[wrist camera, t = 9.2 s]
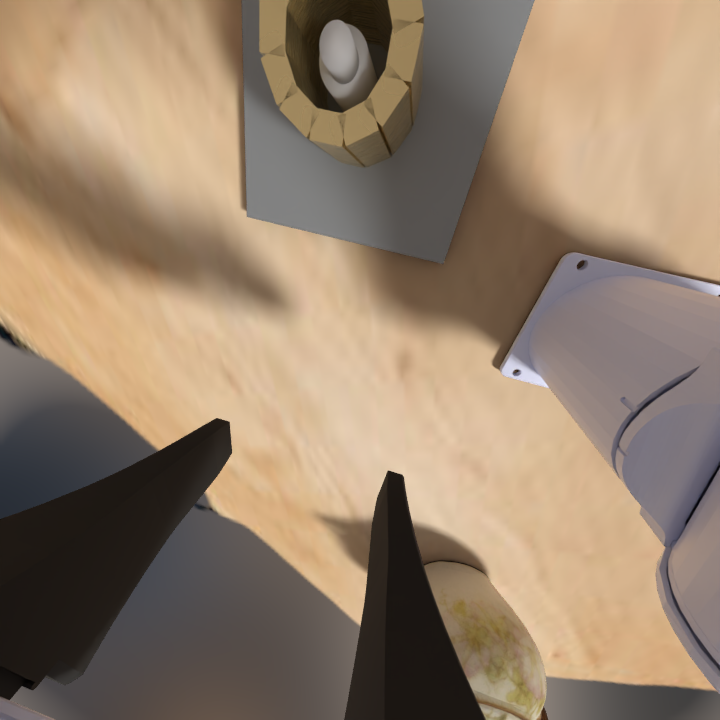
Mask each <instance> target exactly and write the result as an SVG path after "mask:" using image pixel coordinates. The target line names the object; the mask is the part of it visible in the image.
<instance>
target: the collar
mask: <svg viewBox="0 0 720 720" xmlns="http://www.w3.org/2000/svg"><path fill="white" fill-rule="evenodd" d="M332 20H341V21H343V22H344V23H345V24H350V25H353V26H355V27H356V28H357V29H358V30H359V31H360V32H361V33H362V35H363V36H364V38H365V40H366V43H370V44H375V45H381V46H382V47H383V48H384V49H385V51H386V52H387V53H388V57H387V62H386V68H385V71H384V72H383V74H382V75H381V77H380V79H379V80H378V82H377V84H376V85H375V87H374V88H373V90H372V92H371V93H370V95H369V96H368V98H367V100H365V101H363V102H362V103H360V104H358V105H356V106H354V107H352V108H350V109H349V110H347V111H345V112H343V113H338V112H333V111H329V108H328V105H327V98H328V89H327V88H326V86H325V84H324V82H323V80H322V77H321V73H320V67H319V57H320V50H319V42H320V37H321V33H322V31H323V29H324V27H325V26H326V25H327V24H328V23H329V22H330V21H332ZM423 39H424V12H423V5H422V0H259V52H260V53H261V54H262V55H263V57H262V58H261V61H262V64H263V67H264V70H265V73H266V76H267V79H268V81H269V84H270V87H271V90H272V93H273V96H274V99H275V102H276V104H277V106H279V107H280V109H279V110H280V111H281V112H282V113H283V114H284V115H285V116H286V117H287V118H288V119H289V120H290V121H291V122H292V123H293V124H294V125H295V126H296V128H297V129H298V130H299V131H300V132H301V133H302V134H303V135H304V136H305V137H306V138H307V139H309V140H310V141H311V142H313V143H314V144H316V145H317V146H318V147H320V148H321V149H322V150H324V151H325V152H327V153H328V154H329V155H331V156H332V157H334V158H335V159H336V160H338V161H339V162H341V163H344V164H349V165H353V166H358V167H362V168H365V166H366V167H367V168H368V167H370V166H372V165H374V164H377V163H379V162H381V161H383V160H386V159H388V158H390V157H391V156H390V152H391V153H392V154H393V155H394V153H395V152H396V151H397V149H398V148H399V147H400V145H401V144H402V142H403V141H404V140H405V138H406V137H407V136H408V134H409V133H410V132H411V130H412V126H414V122H415V118H416V114H417V109H418V105H419V101H420V97H421V92H422V77H423ZM389 151H390V152H389Z"/></svg>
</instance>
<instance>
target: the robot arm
mask: <svg viewBox="0 0 720 720" xmlns="http://www.w3.org/2000/svg"><path fill="white" fill-rule="evenodd" d="M582 260H584V262H585V263H584V265H583V266H582V268H580V269H577V264H578V263H579V262H580V261H582ZM719 295H720V285H716V284H712V283H707V282H703V281H698V280H694V279H690V278H685V277H681V276H677V275H672V274H668V273H663V272H659V271H655V270H650V269H646V268H642V267H637V266H633V265H628V264H624V263H620V262H615V261H611V260H607V259H602V258H598V257H593V256H589V255H585V254H580V253H576V252H571V253H568V254H566V255H564V256H563V257H562V258H561V260H560V261H559V263H558V265H557V267H556V268H555V270H554V272H553V274H552V275H551V277H550V279H549V281H548V283H547V284H546V286H545V288H544V290H543V291H542V293H541V295H540V297H539V299H538V300H537V302H536V304H535V306H534V307H533V309H532V311H531V313H530V315H529V316H528V318H527V320H526V322H525V323H524V325H523V327H522V329H521V331H520V332H519V334H518V336H517V338H516V339H515V341H514V343H513V345H512V346H511V348H510V350H509V352H508V354H507V355H506V357H505V359H504V361H503V362H502V364H501V366H500V372H501V374H502V375H503V376H505V377H509V378H513V379H517V380H520V381H524V382H528V383H531V384H535V385H539V386H543V387H546V388H550V389H551V391H552V392H553V393H554V395H555V396H556V397H557V398H558V400H559V401H560V402H561V404H562V405H563V406H564V407H565V409H566V410H567V411H568V413H569V414H570V415H571V416H572V418H573V419H574V420H575V422H576V423H577V424H578V426H579V427H580V428H581V429H582V431H583V432H584V433H585V435H586V436H587V437H588V438H589V440H590V441H591V442H592V444H593V445H594V446H595V448H596V449H597V450H598V451H599V453H600V454H601V455H602V457H603V458H604V459H605V460H606V462H607V463H608V464H609V466H610V467H611V468H612V469H613V471H614V472H615V473H616V475H617V476H618V477H619V478H620V479H621V480H622V482H623V483H624V485H625V486H626V487H627V489H628V490H629V491H630V493H631V494H632V495H633V496H634V498H635V499H636V500H637V501H638V502H639V504H640V505H641V510H640V515H641V516H642V517H643V519H644V520H645V521H646V523H647V524H648V525H649V527H650V528H651V529H652V531H653V532H654V533H655V535H656V536H657V537H658V538H659V540H660V541H661V542H662V544H663V545H664V546H665V549H664V551H663V552H662V554H661V556H660V558H659V560H658V562H657V568H656V583H657V591H658V594H659V597H660V601H661V604H662V607H663V610H664V612H665V614H666V616H667V618H668V620H669V622H670V624H671V626H672V628H673V630H674V632H675V634H676V635H677V637H678V638H679V640H680V642H681V643H682V645H683V646H684V648H685V650H686V651H687V653H688V654H689V656H690V657H691V658H692V660H693V661H694V662H695V664H696V665H697V666H698V668H699V669H700V670H701V672H702V673H703V674H704V676H705V677H706V678H707V679H708V681H709V682H710V683H711V684H712V686H713V687H714V688H715V689H716V690H717V691H718V692H719V693H720V297H718V296H719ZM516 369H518V370H519V371H518V372H517V373H513V371H514V370H516ZM231 454H232V446H231V434H230V422H228V421H225V420H222V419H218V418H216V419H214V420H212V421H211V422H209V423H207V424H205V425H204V426H202V427H200V428H198V429H197V430H195V431H193V432H192V433H190V434H188V435H186V436H185V437H183V438H181V439H179V440H178V441H176V442H174V443H172V444H171V445H169V446H167V447H165V448H163V449H162V450H160V451H158V452H156V453H154V454H152V455H150V456H148V457H147V458H145V459H143V460H141V461H139V462H137V463H135V464H133V465H131V466H129V467H127V468H125V469H123V470H121V471H119V472H117V473H115V474H113V475H110V476H108V477H106V478H104V479H102V480H99V481H97V482H95V483H93V484H90V485H88V486H86V487H83V488H81V489H79V490H76V491H74V492H71V493H69V494H66V495H64V496H61V497H59V498H56V499H54V500H51V501H49V502H46V503H44V504H41V505H39V506H36V507H33V508H30V509H27V510H25V511H22V512H20V513H17V514H14V515H11V516H8V517H5V518H2V519H0V720H55V719H52V718H50V717H48V716H45V715H43V714H40V713H38V712H36V711H33V710H31V709H29V708H26V707H24V706H21V705H19V704H17V703H15V702H12V701H10V699H11V698H12V697H13V696H14V694H15V693H16V692H17V691H18V689H19V688H20V687H21V686H23V687H26V688H28V689H31V690H34V689H35V688H36V687H37V686H38V685H39V684H40V682H41V681H42V680H43V679H44V677H46V678H48V679H51V680H53V681H56V682H58V683H61V684H63V685H66V684H69V683H71V682H72V681H74V680H76V679H77V678H78V677H80V676H81V675H83V673H84V672H85V670H86V668H87V666H88V665H89V663H90V661H91V659H92V658H93V656H94V654H95V653H96V651H97V649H98V648H99V646H100V644H101V642H102V641H103V639H104V637H105V636H106V634H107V632H108V630H109V629H110V627H111V626H112V624H113V622H114V620H115V619H116V617H117V616H118V614H119V612H120V611H121V609H122V608H123V606H124V605H125V603H126V601H127V600H128V598H129V597H130V595H131V593H132V592H133V590H134V589H135V587H136V585H137V584H138V582H139V581H140V579H141V578H142V576H143V575H144V573H145V572H146V570H147V569H148V567H149V566H150V564H151V562H152V561H153V560H154V558H155V557H156V555H157V554H158V552H159V551H160V549H161V548H162V546H163V545H164V544H165V542H166V540H167V539H168V538H169V536H170V535H171V534H172V532H173V531H174V530H175V528H176V527H177V525H178V524H179V523H180V522H181V520H182V519H183V518H184V517H185V515H186V514H187V513H188V512H189V511H190V509H191V508H192V507H193V506H194V504H195V503H196V502H197V501H198V499H199V498H200V497H201V496H202V495H203V493H204V492H205V491H206V490H207V488H208V487H209V486H210V485H211V483H212V482H213V481H214V479H215V478H216V477H217V476H218V474H219V473H220V471H221V470H222V468H223V467H224V465H225V464H226V462H227V460H228V459H229V457H230V455H231ZM344 720H486V719H485V716H484V714H483V712H482V710H481V708H480V706H479V704H478V702H477V699H476V697H475V695H474V693H473V690H472V688H471V686H470V684H469V682H468V679H467V677H466V675H465V673H464V670H463V668H462V666H461V663H460V661H459V658H458V656H457V654H456V651H455V649H454V646H453V644H452V642H451V639H450V637H449V634H448V632H447V630H446V627H445V625H444V622H443V619H442V617H441V614H440V611H439V609H438V606H437V603H436V601H435V598H434V595H433V592H432V589H431V586H430V583H429V580H428V577H427V574H426V571H425V568H424V565H423V561H422V558H421V555H420V551H419V548H418V544H417V540H416V536H415V532H414V528H413V524H412V520H411V516H410V511H409V506H408V501H407V496H406V490H405V483H404V477H403V475H401V474H398V473H395V472H391V471H388V472H387V474H386V477H385V479H384V482H383V484H382V487H381V490H380V492H379V495H378V497H377V501H376V506H375V511H374V517H373V522H372V531H371V542H370V553H369V564H368V575H367V586H366V595H365V603H364V609H363V615H362V621H361V627H360V634H359V639H358V645H357V651H356V658H355V663H354V669H353V674H352V680H351V685H350V692H349V697H348V702H347V708H346V713H345V719H344Z"/></svg>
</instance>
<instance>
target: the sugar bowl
mask: <svg viewBox="0 0 720 720" xmlns="http://www.w3.org/2000/svg"><path fill="white" fill-rule="evenodd" d="M424 568H425V571H426V574H427V577H428V580H429V583H430V586H431V589H432V592H433V595H434V598H435V601H436V603H437V606H438V609H439V611H440V614H441V617H442V619H443V622H444V625H445V627H446V630H447V632H448V634H449V637H450V639H451V642H452V644H453V646H454V649H455V651H456V654H457V656H458V658H459V661H460V663H461V666H462V668H463V670H464V673H465V675H466V677H467V679H468V682H469V684H470V686H471V688H472V690H473V693H474V695H475V697H476V699H477V702H478V704H479V706H480V708H481V710H482V712H483V714H484V716H485V719H486V720H548V718H547V714H546V711H545V708H544V702H545V698H546V689H547V685H546V674H545V669H544V665H543V662H542V659H541V656H540V653H539V651H538V649H537V646H536V644H535V643H534V641H533V639H532V637H531V636H530V634H529V632H528V631H527V629H526V627H525V626H524V625H523V623H522V622H521V620H520V619H519V618H518V616H517V615H516V613H515V612H514V611H513V609H512V608H511V607H510V606H509V604H508V603H507V602H506V601H505V600H504V598H503V597H502V596H501V595H500V594H499V592H498V591H497V590H496V589H495V587H494V586H493V585H492V583H491V582H490V580H489V579H488V577H487V576H486V575H485V574H483V573H482V572H481V571H479V570H477V569H475V568H473V567H470V566H468V565H464V564H460V563H455V562H443V561H439V562H433V563H429V564H427V565H424Z"/></svg>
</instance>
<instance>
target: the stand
mask: <svg viewBox="0 0 720 720" xmlns="http://www.w3.org/2000/svg"><path fill="white" fill-rule="evenodd" d="M533 3H534V0H422V5H423V12H424V39H423V77H422V92H421V97H420V101H419V105H418V109H417V114H416V118H415V122H414V126H412V130H411V132H410V133H409V134H408V136H407V137H406V138H405V140H404V141H403V142H402V144H401V145H400V147H399V148H398V149H397V151H396V152H395V153H394V155H393V154H392V153H391V152H390V151H389V152H390V156H391V157H390V158H388V159H386V160H383V161H381V162H379V163H377V164H374V165H372V166H370V167H368V168H367V167H366V166H365V168H362V167H358V166H353V165H349V164H344V163H341V162H339V161H338V160H336V159H335V158H334V157H332V156H331V155H329V154H328V153H327V152H325V151H324V150H322V149H321V148H320V147H318V146H317V145H316V144H314V143H313V142H311V141H310V140H309V139H307V138H306V137H305V136H304V135H303V134H302V133H301V132H300V131H299V130H298V129H297V128H296V126H295V125H294V124H293V123H292V122H291V121H290V120H289V119H288V118H287V117H286V116H285V115H284V114H283V113H282V112H281V111H280V110H279V109H280V107H279V106H277V104H276V102H275V99H274V96H273V93H272V90H271V87H270V84H269V81H268V79H267V76H266V73H265V70H264V67H263V64H262V61H261V58H262V57H263V55H262V54H261V53H260V52H259V0H242V38H243V79H244V119H245V160H246V201H247V217H250V218H254V219H258V220H262V221H266V222H271V223H275V224H279V225H283V226H287V227H291V228H295V229H300V230H304V231H308V232H312V233H316V234H320V235H324V236H329V237H333V238H337V239H341V240H345V241H349V242H354V243H358V244H362V245H366V246H370V247H374V248H378V249H383V250H387V251H391V252H395V253H399V254H403V255H408V256H412V257H416V258H420V259H424V260H428V261H432V262H437V263H441V264H444V261H445V258H446V255H447V252H448V249H449V246H450V243H451V240H452V238H453V235H454V232H455V229H456V226H457V223H458V220H459V217H460V214H461V211H462V209H463V206H464V203H465V200H466V197H467V194H468V191H469V188H470V185H471V183H472V180H473V177H474V174H475V171H476V168H477V165H478V162H479V159H480V157H481V154H482V151H483V148H484V145H485V142H486V139H487V136H488V133H489V131H490V128H491V125H492V122H493V119H494V116H495V113H496V110H497V107H498V104H499V102H500V99H501V96H502V93H503V90H504V87H505V84H506V81H507V78H508V76H509V73H510V70H511V67H512V64H513V61H514V58H515V55H516V52H517V50H518V47H519V44H520V41H521V38H522V35H523V32H524V29H525V26H526V23H527V21H528V18H529V15H530V12H531V9H532V6H533ZM319 50H320V57H319V67H320V73H321V77H322V80H323V82H324V84H325V86H326V88H327V89H328V98H327V105H328V108H329V111H333V112H338V113H343V112H345V111H347V110H349V109H350V108H352V107H354V106H356V105H358V104H360V103H362V102H363V101H365V100H367V98H368V96H369V95H370V93H371V92H372V90H373V88H374V87H375V85H376V84H377V82H378V80H379V79H380V77H381V75H382V74H383V72H384V71H385V68H386V62H387V57H388V53H387V52H386V51H385V49H384V48H383V47H382V46H381V45H375V44H370V43H366V40H365V38H364V36H363V35H362V33H361V32H360V31H359V30H358V29H357V28H356V27H355V26H353V25H350V24H345V23H344V22H343V21H341V20H332V21H330V22H329V23H328V24H327V25H326V26H325V27H324V29H323V31H322V33H321V37H320V42H319Z"/></svg>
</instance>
